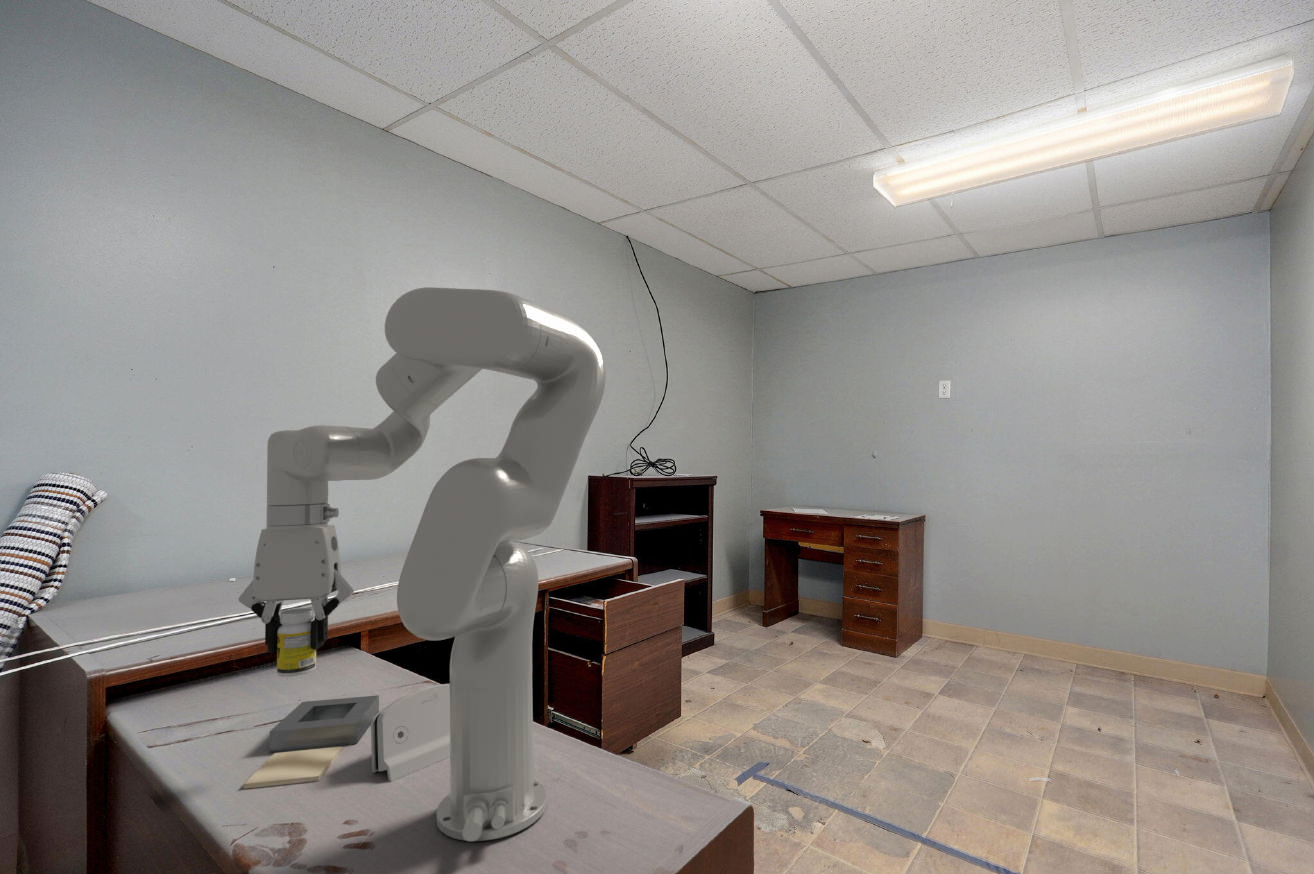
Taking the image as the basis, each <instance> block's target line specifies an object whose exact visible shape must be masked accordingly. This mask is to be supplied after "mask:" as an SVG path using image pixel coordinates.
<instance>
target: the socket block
mask: <svg viewBox="0 0 1314 874" xmlns="http://www.w3.org/2000/svg"><path fill="white" fill-rule="evenodd" d="M379 712H380V695H369V696H368V695H367V696H358V697H357V696H356V697H345V698H334V699H333V698H332V699H321V700H319V699H318V700H311V701H310V700H308V701H302V702H301V703H300V704H298V705H297V706H296V707H295V708H294V709H293V710H292V711H291V712H290V713H288V714H287V715H286V716H285V717H284V718H283V719H282V720H281V721H280V722H278V724H276V725H275V726H274V727H273V728H271V730H269V753H280V752H290V751H300V750H310V749H320V748H330V747H340V746H347V745H358V744H359V743H358V742H360V741H361V740H362V737H363V736H364V735H365V733H366V732H367V730H368V729H369V728H370V727H371V721H372V719H373V717H374V716H375V715H376V714H377V713H379Z"/></svg>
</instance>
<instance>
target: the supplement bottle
mask: <svg viewBox="0 0 1314 874" xmlns="http://www.w3.org/2000/svg"><path fill="white" fill-rule="evenodd" d="M313 620H314V610H313V608H311V607H310V608H309V607H308V608H307V607H301V608H292V609H288V610H287V609H286V610H283V611H280V623H281V624H282V626H280V627H279V628H278V631H277V650H276V674H277V675H278V676H279V677H282V678H289V677H290V678H291V677H297V676H303V675H307V674H309V673H311V672H313V671H314V670H316V668H317V649H315V650H313V649H311V622H312V621H313Z"/></svg>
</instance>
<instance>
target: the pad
mask: <svg viewBox="0 0 1314 874" xmlns="http://www.w3.org/2000/svg"><path fill="white" fill-rule="evenodd" d="M342 746H343V745H340V746H330V747H320V748H310V749H300V750H290V751H280V752H273V754H272V755H271V756H270V757H269V758H268V759H267V760H266V761H265V762H264V763H263V764H262V765H261V766H260V767H259V768H258V769H257V770H256V771H255V772H254V773H253V774H252V775H251V776H250V777H249V778H248V779H247V780H246V781H245V782H244V783H243V790H244V789H245V790H247V789H253V788H256V789H257V788H261V787H262V788H263V787H273V786H283V785H290V784H291V785H292V784H300V783H311V782H318V781H320V780H321V779H322V777H323V776H324V774H325V773H326V772H327V771H328V769H329V768H330V767H331V765H332V764H333V763H334V762H335V760H336V759H337V758H338V756H339V755H340V754H341V753H342V751H343V750H342V749H343V748H342Z"/></svg>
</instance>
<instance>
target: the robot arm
mask: <svg viewBox="0 0 1314 874" xmlns="http://www.w3.org/2000/svg"><path fill="white" fill-rule="evenodd" d="M384 335H385V340H386V341H387V343H388V346H389V347H390V348H391V349H392V350H393V351H394V352H395V354H393V355H392V356H391V357H390V358H389V359H388V360H387V361H386V362H385V363H384V364H383V365H382V366H381V367H380V368H379V369H377V372H376V374H375V386H376V388H377V391H378V393H379V395H380V397H381V398H382V400H383V401H384V403H385V405H387V406H388V407H389V408H390V409H391V410H392V413H390V414H389V415H388V416H387V417H386V418H385V419H384V420H383V421H381V422H380V423H379V424H378V425H377V426H375V427H373V428H369V427H368V428H367V427H353V426H340V425H339V426H338V425H337V426H336V425H325V424H323V425H310V426H307V427H304V428H301V429H293V430H292V429H289V430H278V431H275V432H273V433H271V434H270V436H269V437H268V440H267V449H266V450H267V451H266V452H267V458H266V463H267V464H266V465H267V466H266V526H265V527H266V528H262V529H261V532H260V535H259V538H258V543H257V547H256V553H255V558H254V567H253V580H252V581H251V582H250V583H249V584H248V585H247V587H246V588H245V590H244V591H243V592H242V593H241V594H240V596H238V602H239V603H240V604H242V605H243V606H245V607H247V608H248V609H250V610H251V611H252V613H254V614H255V615H256V616H257V617H258V618H260V621H261V622H262V623H263V624H265V627H264V630H265V631H264V632H265V633H264V643H265V646H267V652H268V654H272V653H273V654H274V653H275V652H277V631H278V628H279V627H280V626H282V624H281V623H280V614H281V612H282V608H283V604H284V601H297V600H299V601H300V600H310V602H311V606H312V609H313V615H314V619H313V620H311V621H312V622H311V649H313V650H315V649H316V650H318V649H320V648H321V647H322V646H324V644H325V642H326V641H327V640H328V637H329V616H330V615H331V614H332V613H333V612H334V611H335V610H336V609H337V608H338V607H339V606H340V605H341V604H342V603H343V602H344V601H345V600H347V599H349V598H350V597H351V596H352V595H353V594H354V592H355V590H354V588H353V587H352V586H351V585H350V584H349V583H348V581H347V580H346V579H345V578H344V577H343V576H342V573H341V572H342V570H341V558H340V548H339V541H338V535H337V531H336V530H337V529H336V526H335V525H333V524H332V525H331V524H329V522H330V520H331V519H333V518H338V517H339V514H340V513H339V508H338V507H336V508H335V507H334V508H333V507H331V506H330V503H329V482H339V481H367V480H368V481H369V480H370V481H371V480H373V481H374V480H378V479H381V478H384V477H386V476H388V475H390V474H392V473H394V472H395V471H396V470H398V469H399V468H400V467H401V466H403V465H404V464H405V463H406V462H407V461H408V460H409V459H411V457H413V456H414V455H416V453H418V451H419V450H420V449H421V448H422V445H423V444H424V443H425V440H426V437H427V436H428V432H429V430H430V429H429V428H430V425H431V414H433V412H435V411H436V410H437V409H439V408H440V406H442V405H443V404H444V403H445V402H446V401H448V400H449V398H451V397H452V396H453V395H454V394H455V393H457V392H458V391H459V390H460V389H461V388H462V387H464V385H465V384H468V383H469V381H470V380H472V379H473V378H474V377H475V376H477V374H478V373H480V372H481V371H482V370H487V371H493V372H496V373H497V372H498V373H502V374H507V375H510V376H515V377H517V378H518V377H519V378H523V379H529V380H533V381H534V382H535V383H536V384H537V387H536V389H535V391H534V393H533V394H531V396H530V397H529V398H528V399H527V400H526V401H525V402H524V404H523V405H522V406H521V407H520V408H519V410H518V412H517V414H516V416H515V418H514V420H513V421H512V423H511V427H510V429H509V433H508V436H507V438H506V440H505V443H504V445H503V447H502V449H501V451H500V452H499V454H498V455H497V456H496V457H479V458H477V457H476V458H470V459H466V460H463V461H461V462H458V463H456V464H455V465H453V466H451V467H450V468H449V469H447V471H446V472H444V474H442V476H441V477H440V478H438V481H436V484H435V485H434V487H433V488H432V490H431V492H430V494H429V497H428V499H427V502H426V504H425V507H424V509H423V512H422V514H421V518H420V519H419V522H418V526H417V528H416V531H415V534H414V536H413V539H412V542H411V545H410V548H409V550H408V553H407V555H406V557H405V561H404V563H403V566H402V569H401V572H400V575H399V579H398V584H397V591H396V603H397V604H396V606H397V610H398V611H397V612H398V615H399V617H400V620H401V622H402V624H403V626H404V628H406V629H407V630H408V632H409V633H410V634H412V635H413V636H415V637H417V638H419V639H423V640H426V641H442V640H446V639H452V638H454V640H453V642H452V643H453V644H452V647H451V652H450V661H449V684H450V757H449V759H450V760H449V768H450V769H449V772H450V773H449V774H450V775H449V777H450V780H449V781H450V783H449V784H450V792H449V793H448V794H447V795H445V797H443V798H442V800H441V801H440V803H439V804H438V805H437V808H436V810H435V812H436V814H435V815H436V819H435V821H436V825H437V828H438V829H439V831H440V832H442V833H443V834H444V835H446V836H447V837H450V838H453V839H455V840H460V841H466V842H483V841H484V842H485V841H491V840H497V839H502V838H504V837H509V836H511V835H514V834H516V833H519V832H520V831H522V830H525V829H526V828H527V829H528V827H530V826H531V825H533V824H534V823H536V821H538V819H540V818H541V817H542V815H543V814H544V812H545V811H546V808H547V805H548V793H547V789H546V787H545V786H544V784H542V783H541V782H539V780H536V779H535V776H534V772H535V771H534V769H535V768H534V717H533V715H534V713H533V709H534V708H533V706H534V705H533V631H534V620H535V614H536V607H537V601H538V594H539V574H538V568H537V565H536V562H535V560H534V558H533V556H532V555H531V553H530V552H529V551H528V550H527V549H526V548H525V547H524V546H522V545H520V544H519V543H517V541H523V540H526V539H530V538H534V537H536V536H539V535H541V534H542V533H544V532H545V531H546V530H548V529H549V527H550V526H551V524H552V523H553V521H554V519H555V517H556V514H557V511H558V509H559V507H560V505H561V501H562V499H563V496H564V494H565V491H566V490H567V489H566V488H567V486H568V484H569V481H570V479H571V476H572V474H573V472H574V468H575V466H576V464H577V462H578V458H579V455H580V452H581V450H582V448H583V445H584V442H585V440H586V437H587V435H588V433H589V430H590V429H591V427H592V423H593V422H594V419H595V417H596V415H597V412H598V411H599V408H600V406H601V403H602V400H603V397H604V393H605V387H606V377H607V376H606V375H607V373H606V366H605V361H604V357H603V355H602V352H601V350H600V348H599V346H598V344H597V343H596V342H595V340H594V339H593V338H592V336H591V335H590V334H589V333H588V332H587V331H586V330H585V329H584V328H583V327H582V326H580V325H579V324H577V323H576V322H575V321H574V320H571V319H570V318H569V317H566V316H564V315H562V314H560V313H558V312H556V311H554V310H551V309H549V308H547V307H544V306H542V305H539V304H537V303H535V302H533V301H531V300H528V299H526V298H524V297H521V296H518V295H517V294H513V293H512V292H511V293H510V292H505V291H503V290H502V291H501V290H495V289H481V288H477V289H476V288H475V289H473V288H455V287H454V288H453V287H434V286H433V287H430V286H429V287H428V286H427V287H425V286H424V287H420V288H415V289H412V290H409V291H406V292H405V293H404V294H402V295H400V297H399V298H397V299H396V300H395V301H394V302H393V303H392V305H391V306H390V308H389V310H388V312H387V315H386V316H385V321H384ZM337 591H338V593H337V594H336V595H335V596H333V597H332V598H331V599H329V597H328V596H329V595H331V593H335V592H337Z"/></svg>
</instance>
